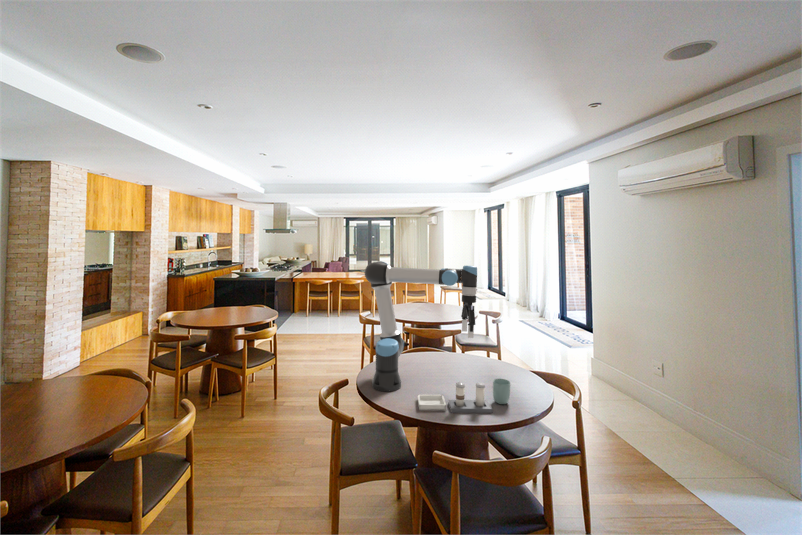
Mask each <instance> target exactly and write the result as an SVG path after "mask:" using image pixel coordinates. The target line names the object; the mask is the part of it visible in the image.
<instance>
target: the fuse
mask: <svg viewBox="0 0 802 535" xmlns="http://www.w3.org/2000/svg"><path fill="white" fill-rule="evenodd" d="M485 388H486V384H485V383H484V382H476V383H475V400H476V405H475V406H476V407H484V400H485V390H486V389H485Z"/></svg>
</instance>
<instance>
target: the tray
mask: <svg viewBox="0 0 802 535" xmlns="http://www.w3.org/2000/svg"><path fill="white" fill-rule="evenodd" d="M417 404H418V406H417V407H418V410H419V411H442V412H443V411H444V412H445V411H447V403H446V400H445V397H444V395H443V394H417Z"/></svg>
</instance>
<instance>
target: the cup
mask: <svg viewBox="0 0 802 535" xmlns="http://www.w3.org/2000/svg"><path fill="white" fill-rule="evenodd" d="M510 396H511V381H510V380H508V379H505V378H495V379H493V381H492V398H493V401H494V402H495V403H497V404H499V405H506V404H507V403H509V401H510Z"/></svg>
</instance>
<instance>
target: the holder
mask: <svg viewBox="0 0 802 535" xmlns="http://www.w3.org/2000/svg"><path fill="white" fill-rule="evenodd" d="M455 405H456V399H448V406H449V409H450V412H451V413H453V414H454V413H455V414H456V413H457V414H458V413H459V414H460V413H461V414H463V413H464V414H465V413H466V414H467V413H468V414H469V413H470V414H475V413H477V414H486V413H487V414H492V413H493V411H494V410H493V407H492V405H491V404H490V402H489V401H488V399H484V407H476V406H475V405H476V399H464V407H455Z"/></svg>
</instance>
